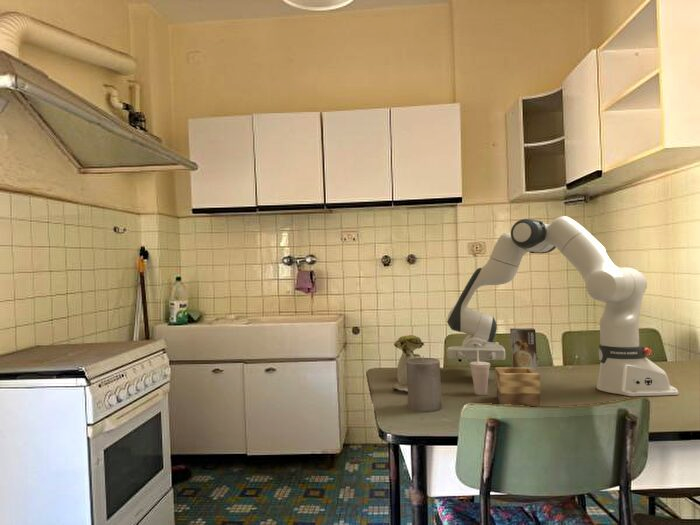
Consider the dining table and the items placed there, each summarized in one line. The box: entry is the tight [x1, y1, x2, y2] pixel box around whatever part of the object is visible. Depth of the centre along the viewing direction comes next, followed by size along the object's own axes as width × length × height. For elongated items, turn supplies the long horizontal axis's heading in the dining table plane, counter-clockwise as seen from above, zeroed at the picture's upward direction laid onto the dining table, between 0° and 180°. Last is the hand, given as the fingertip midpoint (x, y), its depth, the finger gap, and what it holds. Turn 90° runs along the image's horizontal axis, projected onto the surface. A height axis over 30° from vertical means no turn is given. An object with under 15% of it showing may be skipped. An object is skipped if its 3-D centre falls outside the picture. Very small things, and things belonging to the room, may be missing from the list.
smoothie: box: [469, 349, 491, 396], centre depth 165 cm, size 6×6×14 cm
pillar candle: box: [407, 355, 443, 413], centre depth 150 cm, size 10×10×15 cm
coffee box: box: [509, 327, 538, 370], centre depth 202 cm, size 9×6×16 cm
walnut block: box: [496, 387, 541, 407], centre depth 154 cm, size 11×11×4 cm
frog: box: [392, 334, 425, 392], centre depth 172 cm, size 12×13×18 cm
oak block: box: [494, 366, 541, 395], centre depth 154 cm, size 11×11×6 cm
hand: (476, 356), depth 178 cm, fingers open, 8 cm apart
